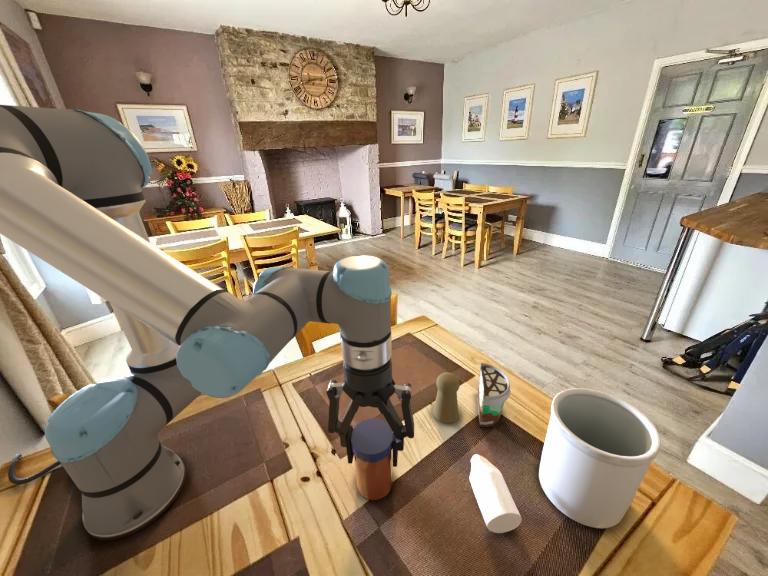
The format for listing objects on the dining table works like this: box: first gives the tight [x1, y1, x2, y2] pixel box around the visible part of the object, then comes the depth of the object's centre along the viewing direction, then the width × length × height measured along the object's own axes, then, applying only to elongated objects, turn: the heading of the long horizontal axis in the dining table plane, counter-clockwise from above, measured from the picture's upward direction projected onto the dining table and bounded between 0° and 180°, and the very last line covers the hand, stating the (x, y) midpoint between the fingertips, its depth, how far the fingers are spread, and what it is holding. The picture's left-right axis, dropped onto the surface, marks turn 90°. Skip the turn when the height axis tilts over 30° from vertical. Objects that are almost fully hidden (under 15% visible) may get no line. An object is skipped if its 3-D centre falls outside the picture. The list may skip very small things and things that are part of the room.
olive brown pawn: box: [432, 371, 461, 424], centre depth 72 cm, size 6×6×11 cm
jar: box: [353, 451, 393, 501], centre depth 57 cm, size 7×7×12 cm
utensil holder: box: [538, 387, 662, 529], centre depth 54 cm, size 15×15×18 cm
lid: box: [351, 418, 393, 463], centre depth 55 cm, size 8×8×2 cm
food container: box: [476, 362, 511, 428], centre depth 72 cm, size 12×6×10 cm, turn 168°
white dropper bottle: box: [468, 453, 523, 534], centre depth 56 cm, size 6×12×6 cm, turn 6°
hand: (373, 458), depth 57 cm, fingers closed on lid, 7 cm apart
